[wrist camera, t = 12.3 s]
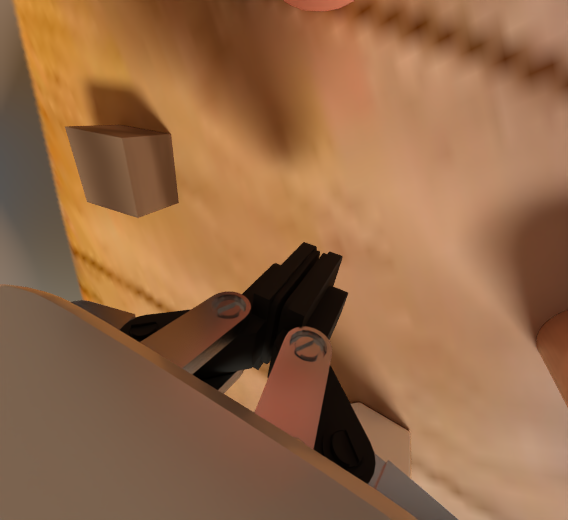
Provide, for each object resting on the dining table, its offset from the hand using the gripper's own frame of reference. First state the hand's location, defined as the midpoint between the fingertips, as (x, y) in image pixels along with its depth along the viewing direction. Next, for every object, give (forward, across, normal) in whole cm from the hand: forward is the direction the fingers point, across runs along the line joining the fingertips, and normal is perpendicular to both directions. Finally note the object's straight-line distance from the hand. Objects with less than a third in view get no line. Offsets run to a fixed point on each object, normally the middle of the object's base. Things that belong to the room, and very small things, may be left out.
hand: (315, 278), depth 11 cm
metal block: (+6, +16, 0) cm, 17 cm away
